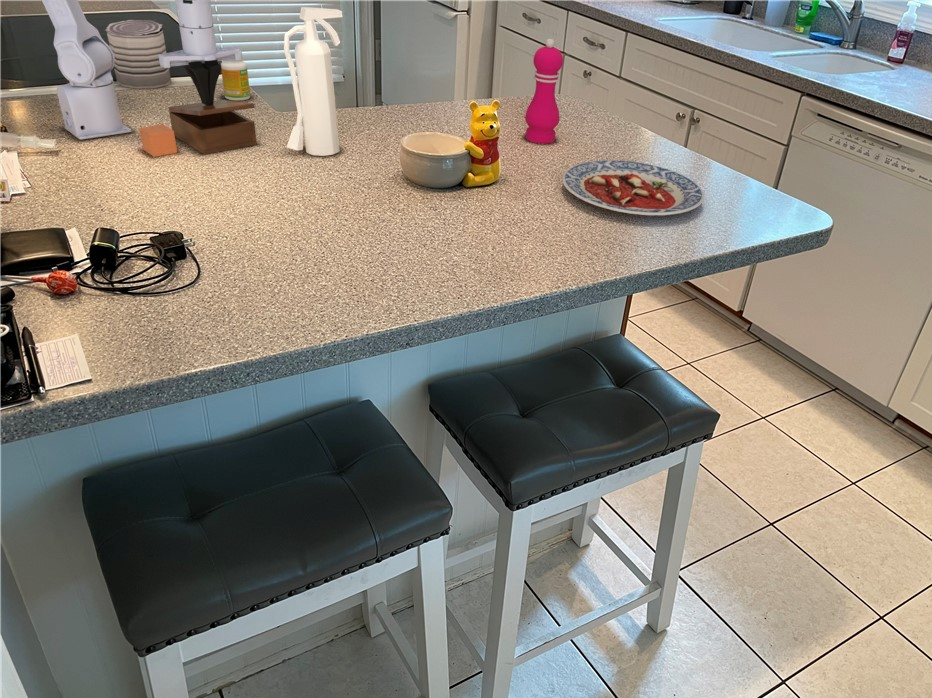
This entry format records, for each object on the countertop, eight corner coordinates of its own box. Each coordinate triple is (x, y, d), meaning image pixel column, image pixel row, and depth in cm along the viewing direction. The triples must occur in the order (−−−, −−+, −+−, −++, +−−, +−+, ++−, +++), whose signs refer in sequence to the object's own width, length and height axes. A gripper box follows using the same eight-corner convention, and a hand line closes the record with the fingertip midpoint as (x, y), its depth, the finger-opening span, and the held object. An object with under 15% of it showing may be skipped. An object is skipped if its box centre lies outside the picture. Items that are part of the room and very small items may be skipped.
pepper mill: (554, 146, 161) (565, 44, 150) (520, 141, 162) (529, 39, 150) (559, 136, 167) (571, 37, 155) (526, 131, 168) (535, 32, 156)
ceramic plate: (589, 228, 128) (591, 211, 126) (543, 172, 148) (544, 156, 146) (727, 223, 135) (731, 206, 133) (665, 170, 155) (668, 155, 153)
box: (257, 144, 147) (254, 121, 145) (204, 154, 141) (200, 130, 139) (224, 126, 154) (221, 104, 152) (173, 135, 148) (169, 111, 146)
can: (182, 83, 176) (173, 26, 169) (138, 92, 168) (127, 33, 161) (149, 72, 181) (139, 17, 174) (105, 81, 173) (93, 23, 166)
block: (153, 157, 138) (149, 134, 136) (143, 149, 140) (138, 127, 138) (177, 152, 141) (173, 130, 138) (166, 145, 143) (163, 124, 141)
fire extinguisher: (280, 148, 147) (266, 4, 132) (340, 142, 152) (333, 3, 138) (292, 160, 142) (279, 12, 128) (353, 153, 148) (348, 10, 134)
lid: (254, 107, 143) (253, 103, 143) (199, 115, 137) (198, 111, 136) (222, 103, 152) (221, 99, 151) (169, 111, 145) (168, 107, 145)
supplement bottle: (246, 102, 169) (240, 55, 163) (221, 99, 168) (215, 52, 163) (253, 95, 173) (248, 49, 167) (229, 93, 173) (223, 47, 167)
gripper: (166, 33, 130) (179, 114, 138) (245, 26, 139) (253, 103, 147) (148, 24, 134) (162, 104, 142) (226, 19, 143) (235, 94, 151)
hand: (207, 103), depth 145 cm, fingers closed
